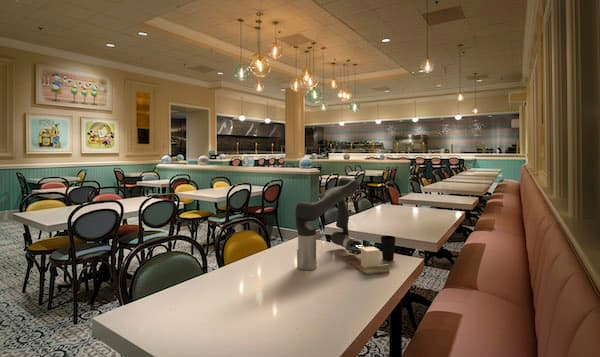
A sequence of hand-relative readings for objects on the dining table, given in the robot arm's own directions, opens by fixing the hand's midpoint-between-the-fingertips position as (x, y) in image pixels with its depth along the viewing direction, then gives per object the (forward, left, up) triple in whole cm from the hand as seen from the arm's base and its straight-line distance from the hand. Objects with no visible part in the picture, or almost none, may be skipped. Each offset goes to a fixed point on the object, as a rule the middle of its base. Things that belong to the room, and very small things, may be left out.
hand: (367, 254), depth 175 cm
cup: (+10, +14, -7) cm, 19 cm away
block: (+1, -3, -5) cm, 6 cm away
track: (-2, +3, -6) cm, 7 cm away
